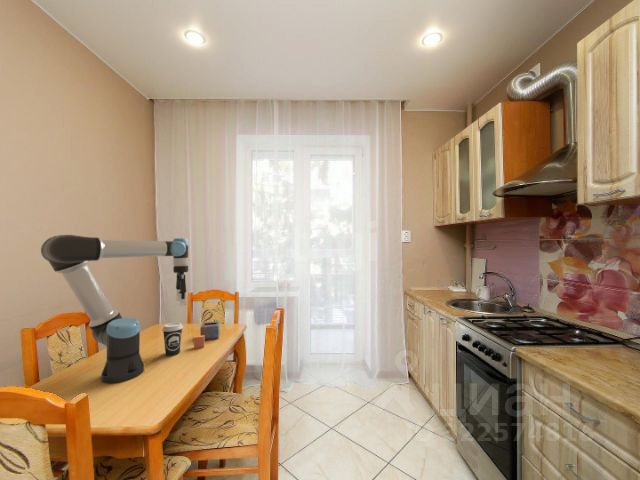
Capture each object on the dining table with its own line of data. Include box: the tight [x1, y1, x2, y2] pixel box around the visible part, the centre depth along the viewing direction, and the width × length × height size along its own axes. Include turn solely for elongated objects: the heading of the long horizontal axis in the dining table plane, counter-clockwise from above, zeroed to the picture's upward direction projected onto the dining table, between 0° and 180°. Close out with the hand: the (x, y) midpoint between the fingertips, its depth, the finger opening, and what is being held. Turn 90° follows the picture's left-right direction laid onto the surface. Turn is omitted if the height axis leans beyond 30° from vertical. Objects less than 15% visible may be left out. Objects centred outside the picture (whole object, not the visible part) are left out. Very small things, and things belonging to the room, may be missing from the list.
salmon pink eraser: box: [193, 335, 206, 350], centre depth 147 cm, size 2×5×6 cm, turn 106°
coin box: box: [199, 320, 221, 341], centre depth 163 cm, size 10×10×8 cm
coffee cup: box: [161, 321, 184, 357], centre depth 139 cm, size 10×10×15 cm
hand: (180, 302), depth 150 cm, fingers open, 13 cm apart
